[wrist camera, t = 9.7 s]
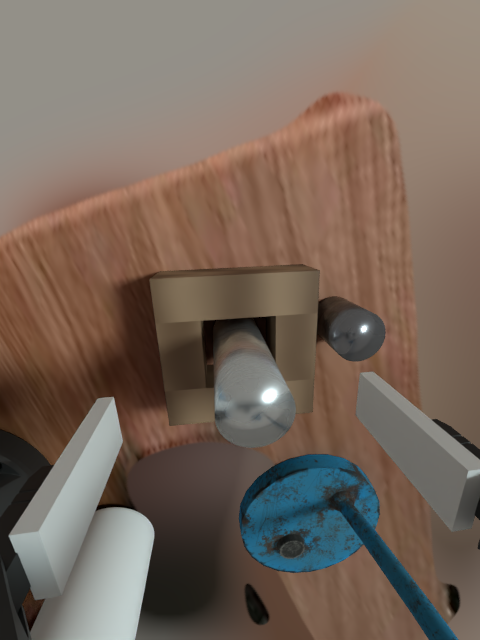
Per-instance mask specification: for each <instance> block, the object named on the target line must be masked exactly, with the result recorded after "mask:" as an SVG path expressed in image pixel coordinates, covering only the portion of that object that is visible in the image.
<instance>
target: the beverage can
mask: <svg viewBox="0 0 480 640" xmlns="http://www.w3.org/2000/svg"><path fill="white" fill-rule="evenodd" d="M153 541H154V529H153V526H152V524H151V523H150V521H149V520H148V519H147V518H146V517H145V516H144V515H142V514H141V513H139V512H137V511H135V510H132V509H129V508H123V507H109V508H104V509H100V510H97V511H95V513H94V516H93V518H92V521H91V523H90V526H89V528H88V531H87V533H86V536H85V538H84V541H83V543H82V546H81V548H80V551H79V553H78V556H77V558H76V561H75V564H74V566H73V569H72V571H71V574H70V576H69V579H68V581H67V584H66V586H65V589H64V591H63V594H62V596H58V597H52V598H46V599H45V601H44V603H43V605H42V607H41V610H40V612H39V614H38V616H37V618H36V621H35V623H34V625H33V627H32V629H31V632H30V635H31V639H32V640H135V637H136V631H137V626H138V621H139V615H140V610H141V604H142V599H143V594H144V589H145V583H146V578H147V572H148V567H149V562H150V557H151V551H152V546H153Z"/></svg>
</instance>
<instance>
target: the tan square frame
mask: <svg viewBox="0 0 480 640" xmlns="http://www.w3.org/2000/svg"><path fill="white" fill-rule="evenodd" d="M319 276H320V270H317V269H314V268H311V267H309V266H306V265H303V264H300V265H280V266H260V267H240V268H220V269H200V270H179V271H160V272H158V273H157V274H156V275H154V276H153V277H152V278H150V279H149V281H150V288H151V295H152V302H153V310H154V317H155V324H156V331H157V339H158V346H159V353H160V360H161V368H162V375H163V382H164V389H165V397H166V404H167V411H168V418H169V426H173V425H184V424H194V423H205V422H215V406H214V365H207V361H206V349H205V337H204V325H203V321H204V320H220V319H235V318H250V317H266V345H267V347H268V349H269V350H270V352H271V354H272V356H273V358H274V360H275V362H276V364H277V366H278V368H279V370H280V372H281V374H282V376H283V378H284V380H285V382H286V384H287V386H288V388H289V390H290V392H291V394H292V396H293V398H294V401H295V406H296V413H295V414H299V413H310V412H313V394H314V375H315V355H316V335H317V316H318V296H319Z"/></svg>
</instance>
